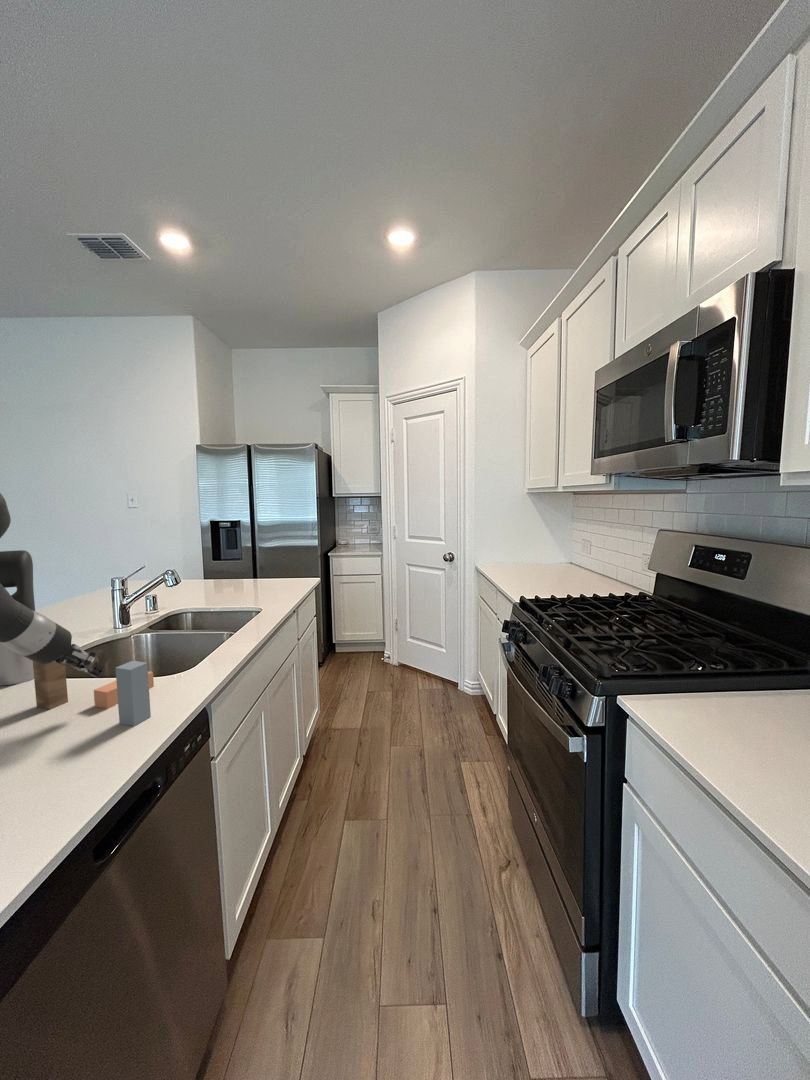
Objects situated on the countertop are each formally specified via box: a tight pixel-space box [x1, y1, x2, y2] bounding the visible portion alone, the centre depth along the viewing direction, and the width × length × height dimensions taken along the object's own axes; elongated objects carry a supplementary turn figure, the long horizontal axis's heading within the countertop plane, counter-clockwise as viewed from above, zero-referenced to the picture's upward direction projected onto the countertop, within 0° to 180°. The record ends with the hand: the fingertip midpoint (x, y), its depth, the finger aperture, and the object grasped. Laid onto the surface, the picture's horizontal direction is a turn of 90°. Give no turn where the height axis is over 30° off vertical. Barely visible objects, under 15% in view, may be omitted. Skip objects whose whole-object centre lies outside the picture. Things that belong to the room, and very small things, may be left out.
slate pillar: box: [115, 660, 152, 727], centre depth 93 cm, size 4×4×12 cm
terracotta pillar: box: [93, 670, 155, 710], centre depth 105 cm, size 4×4×12 cm
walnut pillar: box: [33, 661, 69, 711], centre depth 100 cm, size 4×4×12 cm
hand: (100, 673), depth 99 cm, fingers closed
